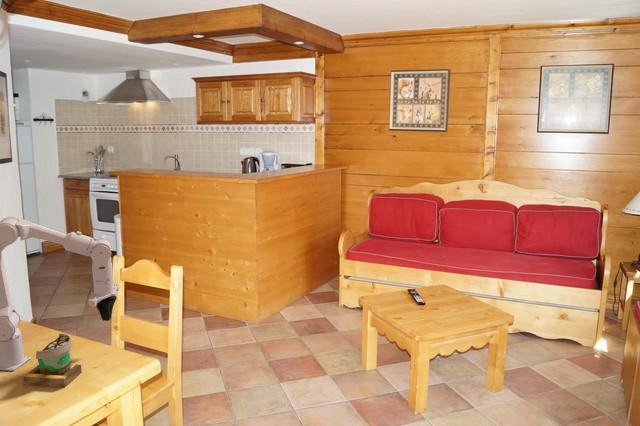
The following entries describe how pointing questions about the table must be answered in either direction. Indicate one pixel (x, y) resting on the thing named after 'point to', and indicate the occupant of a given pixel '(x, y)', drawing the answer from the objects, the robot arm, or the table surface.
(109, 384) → the table surface
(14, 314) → the robot arm
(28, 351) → the table surface
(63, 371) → the food container
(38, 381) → the dock bay
